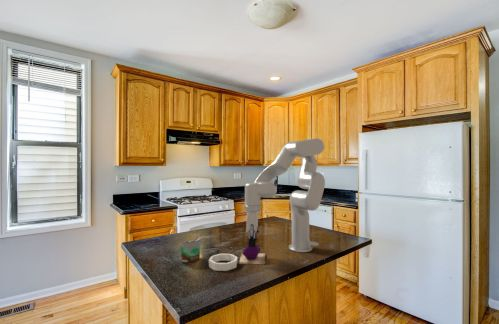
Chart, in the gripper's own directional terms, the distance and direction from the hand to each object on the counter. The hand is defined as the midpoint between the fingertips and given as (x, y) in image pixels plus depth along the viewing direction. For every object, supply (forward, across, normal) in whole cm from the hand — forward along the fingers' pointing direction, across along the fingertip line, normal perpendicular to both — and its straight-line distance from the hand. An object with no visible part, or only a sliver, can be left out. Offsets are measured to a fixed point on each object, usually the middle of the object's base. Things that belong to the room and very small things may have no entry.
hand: (252, 243), depth 124 cm
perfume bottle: (+7, 0, 0) cm, 7 cm away
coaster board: (+8, 0, 0) cm, 8 cm away
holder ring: (+8, +8, -13) cm, 17 cm away
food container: (+8, +4, -28) cm, 29 cm away
